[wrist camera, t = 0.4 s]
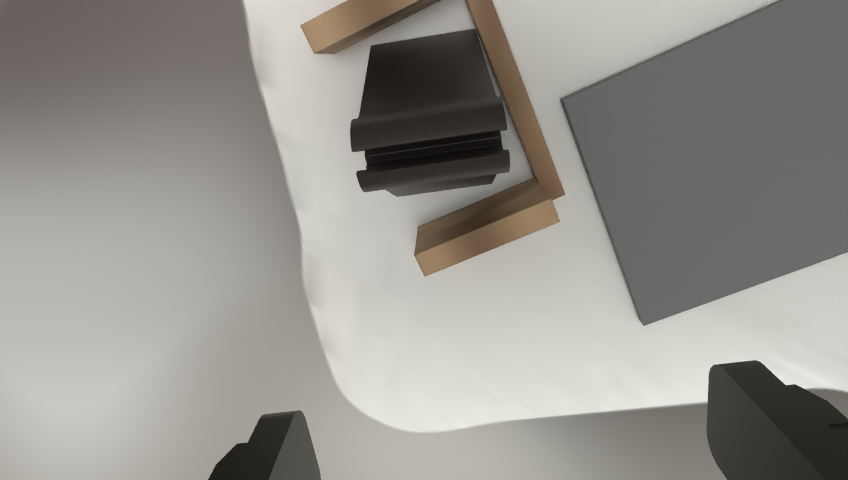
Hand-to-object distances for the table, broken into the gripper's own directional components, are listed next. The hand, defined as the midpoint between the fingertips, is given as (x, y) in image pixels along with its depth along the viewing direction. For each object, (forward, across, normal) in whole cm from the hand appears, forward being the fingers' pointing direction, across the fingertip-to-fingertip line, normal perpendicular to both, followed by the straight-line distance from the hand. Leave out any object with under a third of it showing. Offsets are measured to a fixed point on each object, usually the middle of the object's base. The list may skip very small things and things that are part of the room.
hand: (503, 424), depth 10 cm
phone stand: (+23, +1, -4) cm, 24 cm away
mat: (+23, -16, +2) cm, 28 cm away
